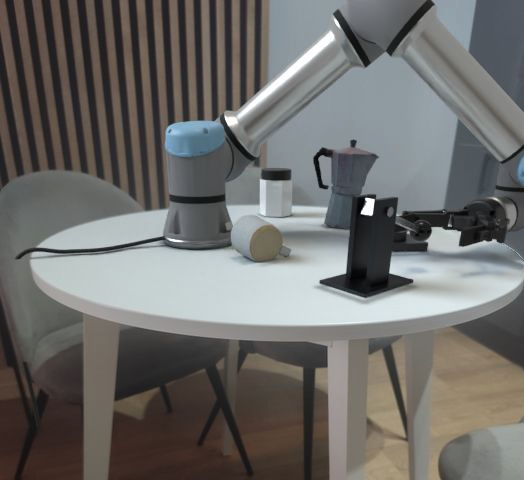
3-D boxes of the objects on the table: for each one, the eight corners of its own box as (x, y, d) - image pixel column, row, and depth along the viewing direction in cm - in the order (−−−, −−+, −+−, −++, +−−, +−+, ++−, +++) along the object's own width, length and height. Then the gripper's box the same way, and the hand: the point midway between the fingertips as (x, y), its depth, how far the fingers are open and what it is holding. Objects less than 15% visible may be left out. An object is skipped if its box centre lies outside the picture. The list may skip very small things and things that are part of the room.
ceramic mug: (250, 266, 88) (251, 223, 85) (229, 256, 95) (229, 215, 92) (299, 260, 93) (302, 219, 90) (277, 251, 100) (278, 212, 96)
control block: (369, 256, 97) (371, 235, 95) (352, 244, 106) (354, 225, 104) (426, 254, 99) (429, 233, 97) (405, 242, 108) (407, 224, 106)
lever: (413, 242, 86) (420, 221, 85) (431, 245, 84) (438, 224, 83) (355, 217, 74) (362, 193, 73) (374, 220, 72) (382, 195, 71)
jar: (273, 211, 144) (274, 167, 139) (296, 214, 139) (298, 169, 134) (253, 215, 137) (254, 169, 132) (277, 218, 133) (278, 171, 128)
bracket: (367, 274, 85) (376, 190, 79) (412, 286, 79) (425, 196, 73) (319, 287, 78) (324, 196, 72) (363, 302, 72) (374, 204, 66)
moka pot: (375, 230, 120) (384, 140, 111) (311, 229, 120) (315, 139, 112) (368, 223, 128) (376, 139, 120) (308, 222, 129) (312, 138, 120)
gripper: (548, 249, 90) (491, 268, 77) (427, 227, 107) (364, 240, 94) (559, 206, 86) (501, 219, 74) (433, 191, 104) (368, 199, 91)
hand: (424, 231), depth 84 cm, fingers open, 13 cm apart
